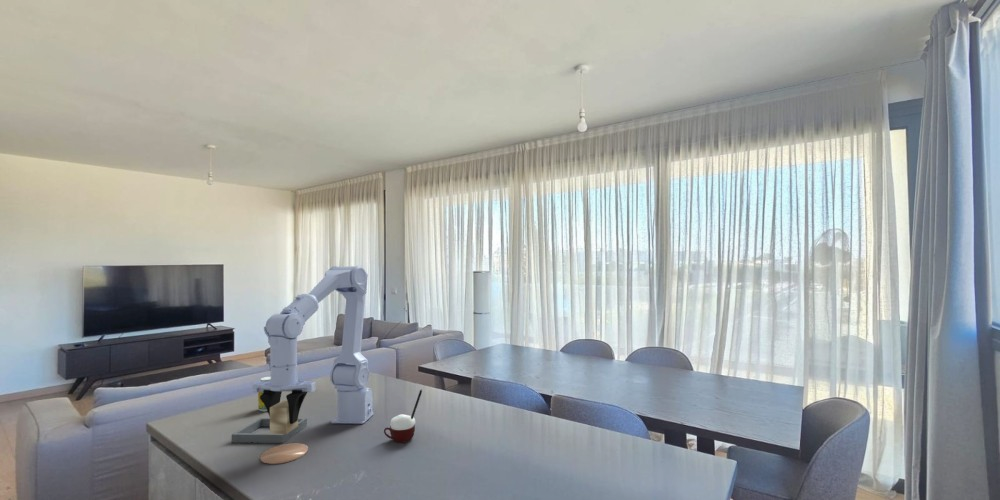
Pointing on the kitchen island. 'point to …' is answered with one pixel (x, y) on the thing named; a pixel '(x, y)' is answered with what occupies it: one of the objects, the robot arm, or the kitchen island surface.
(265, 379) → the supplement bottle
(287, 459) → the saucer
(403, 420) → the cocoa
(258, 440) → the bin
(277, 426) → the block
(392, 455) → the kitchen island surface
